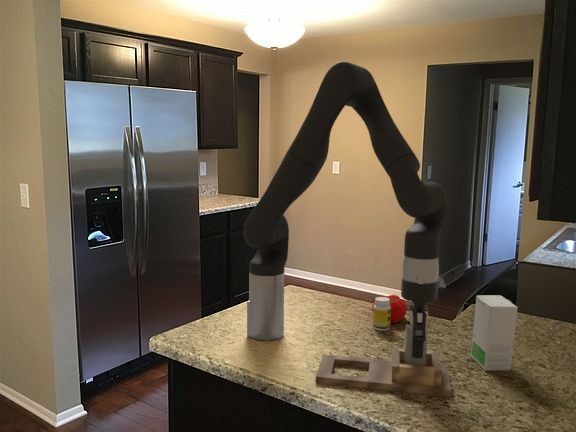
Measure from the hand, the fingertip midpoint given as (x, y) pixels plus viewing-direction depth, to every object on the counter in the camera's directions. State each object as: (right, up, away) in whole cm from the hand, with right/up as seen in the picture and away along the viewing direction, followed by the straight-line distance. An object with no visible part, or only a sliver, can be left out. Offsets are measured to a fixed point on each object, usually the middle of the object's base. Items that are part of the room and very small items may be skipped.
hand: (416, 349), depth 114 cm
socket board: (-7, -7, +2) cm, 10 cm away
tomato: (+2, -2, +40) cm, 40 cm away
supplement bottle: (-2, -3, +33) cm, 33 cm away
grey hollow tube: (0, -5, +1) cm, 5 cm away
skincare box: (+20, -6, +10) cm, 23 cm away
